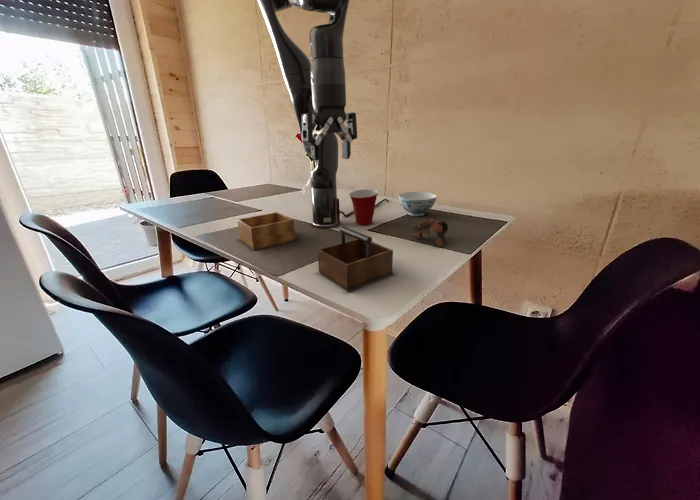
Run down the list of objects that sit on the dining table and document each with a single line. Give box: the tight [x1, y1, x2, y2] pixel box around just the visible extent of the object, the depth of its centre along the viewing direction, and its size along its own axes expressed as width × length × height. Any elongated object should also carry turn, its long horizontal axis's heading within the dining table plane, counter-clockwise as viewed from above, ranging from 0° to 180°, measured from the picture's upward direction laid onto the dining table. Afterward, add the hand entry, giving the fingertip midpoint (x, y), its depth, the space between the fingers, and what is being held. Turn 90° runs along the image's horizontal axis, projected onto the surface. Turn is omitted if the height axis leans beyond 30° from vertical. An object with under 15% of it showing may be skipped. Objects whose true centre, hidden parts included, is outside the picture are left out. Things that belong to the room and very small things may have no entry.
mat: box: [319, 271, 394, 293], centre depth 78 cm, size 14×12×1 cm
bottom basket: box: [236, 211, 296, 251], centre depth 101 cm, size 14×12×7 cm
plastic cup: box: [348, 188, 379, 226], centre depth 116 cm, size 11×11×12 cm
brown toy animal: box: [412, 218, 449, 248], centre depth 98 cm, size 12×10×8 cm
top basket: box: [317, 225, 394, 290], centre depth 76 cm, size 14×12×11 cm
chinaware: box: [398, 191, 437, 217], centre depth 128 cm, size 15×15×8 cm
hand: (332, 160), depth 75 cm, fingers open, 8 cm apart
